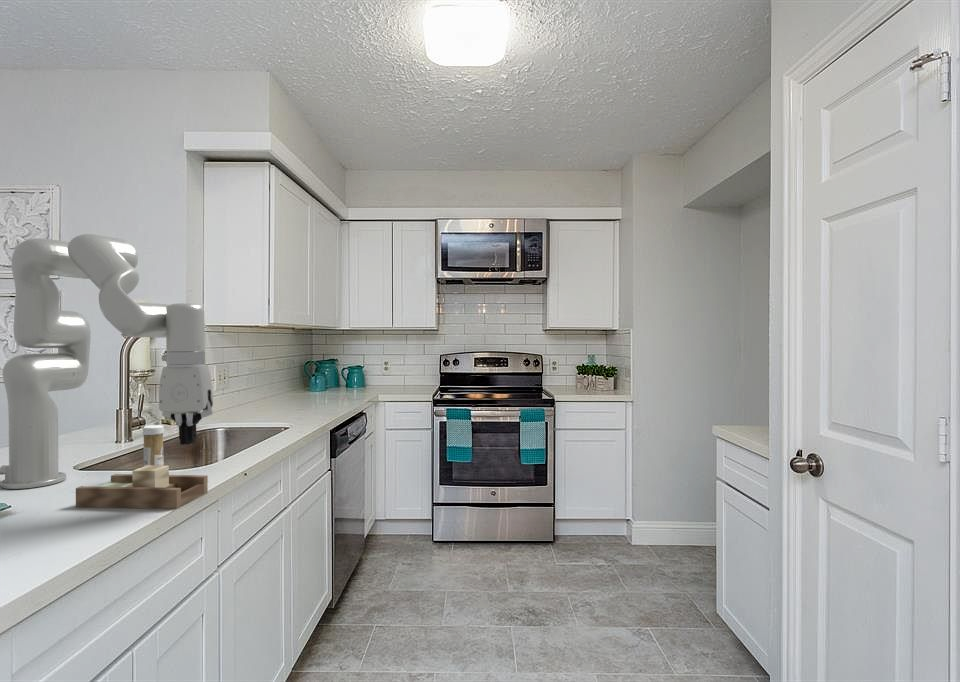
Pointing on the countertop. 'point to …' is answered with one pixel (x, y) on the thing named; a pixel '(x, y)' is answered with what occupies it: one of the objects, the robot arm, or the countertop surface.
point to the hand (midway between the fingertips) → (187, 443)
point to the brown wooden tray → (143, 493)
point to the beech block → (151, 476)
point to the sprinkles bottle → (153, 445)
